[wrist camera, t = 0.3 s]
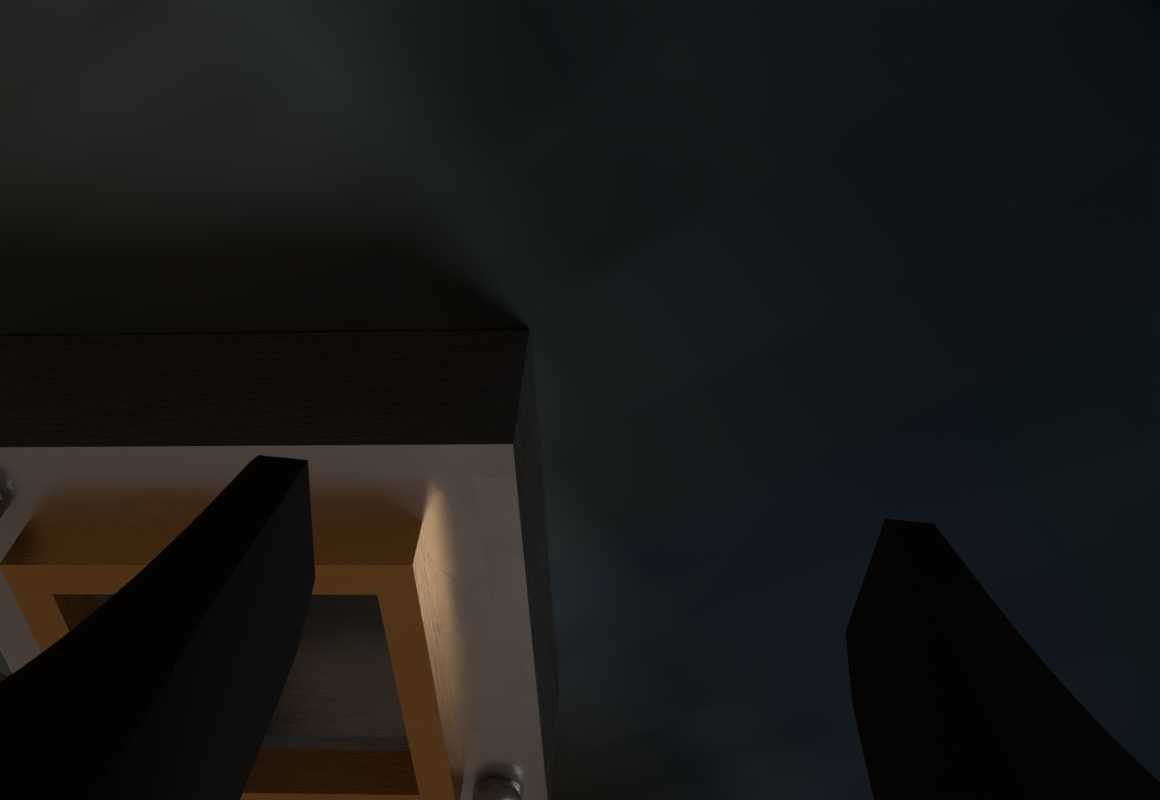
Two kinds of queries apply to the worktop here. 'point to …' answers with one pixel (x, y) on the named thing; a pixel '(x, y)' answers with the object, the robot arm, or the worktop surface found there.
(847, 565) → the worktop surface
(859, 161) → the worktop surface
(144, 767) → the robot arm
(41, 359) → the housing
